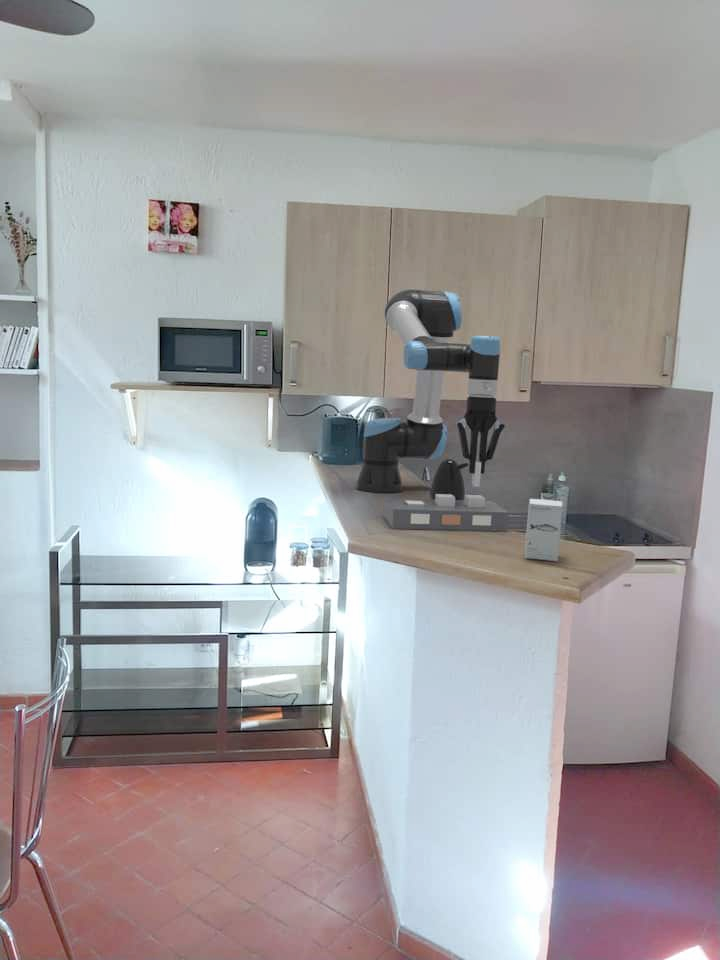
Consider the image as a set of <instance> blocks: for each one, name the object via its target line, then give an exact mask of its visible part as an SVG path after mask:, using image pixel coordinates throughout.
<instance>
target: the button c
mask: <svg viewBox="0 0 720 960" xmlns="http://www.w3.org/2000/svg"><path fill="white" fill-rule="evenodd" d="M485 501H486V498H485V497H484V496H483V495H479V494H478V495H475V494H466V495H465V499H464V505H465V506H466V507H470V508H485Z"/></svg>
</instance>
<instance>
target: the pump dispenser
mask: <svg viewBox="0 0 720 960" xmlns="http://www.w3.org/2000/svg"><path fill="white" fill-rule="evenodd" d="M468 467H469V462H465V463H460V464H459V463H458V461H456V460H455V459H453V458H446V459H444V460H442V461H441V462H440V464H439V466H438V468H436V472H435V474H434V477H433V479H432V483H431V487H430V492H429V499H435V494H451V495H453V496H454V497H455V500H464V499H465V495H467V494H466V493H467V492H466V484H465V483H466V482H465V478H464V475H463V471H462V469H465V468H468Z"/></svg>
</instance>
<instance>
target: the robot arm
mask: <svg viewBox="0 0 720 960" xmlns="http://www.w3.org/2000/svg"><path fill="white" fill-rule="evenodd" d="M462 313H463V311H462V303H461V300H460V298H459V296H458V295H457V293H454V292H451V291H450V292H449V291H444V290H425V289H405V290H401V291H399V292H398V293H395V294H394V295H393V296H391V298H389V300H388V301H387V302H386V305H385V308H384V318H385V321H386V323H387V325H388V326H389V328H390V329H392V330H394V331H395V332H396V333H397V334H396V335H398V337H399V339H400V341H401V342H402V344H403V346H404V348H403V357H402V359H403V365H404V367H405V368H406V369H408V370H415V371H416V378H415V385H414V386H415V388H414V396H413V406H412V412H411V413H410V414H408V415H407V417H406V418H407V419H406V422H402V420H401V418H399V417H383V418H375V419H370V420H368V421H366V423H365V426H364V432H363V456H362V459H363V460H362V466H361V469H360V472H359V474H358V477H357V479H356V489H357V490H360V491H363V492H370V493H381V494H382V493H386V494H387V493H388V494H389V493H399V492H402V491H403V480H402V477H401V472H400V469H399V460H400V459H401V458H402V459H423V460H429V459H437V458H439V457H440V456H441V455H442V454H443V452H444V450H445V448H446V444H447V440H448V435H447V434H448V429H447V426H446V424H444V422H443V418H442V417H441V415H440V407H441V401H442V400H441V399H442V390H443V381H444V374H445V373H444V372H456V373H458V372H459V373H467V374H468V382H467V384H468V385H467V394H468V395H469V396H468V397H466V409H465V411H466V412H465V414H464V415H463V419H461V420H460V421H459V420H458V421H456V422H455V426H456V428H457V430H458V434H459V435H458V436H459V440H460V446H461V450H462V451H461V452H462V456H463V458H464V459H466V460H468V461H469V463H468V467H469V469H468V472H469V474H472V476H471V486H473V487H476V488H477V487H479V488H480V487H481V476H482V475H481V474H483V475H484V474H485V471H486V470H485V469H486V468H485V467H486V462H488V461H489V460H490V461H491V460H492V459H493V458H494V454H495V451H496V448H497V445H498V443H499V438H500V436H501V433H502V431H503V430H504V429H505V427H506V425H505V424H503V423H502V422H500V421H498V417H497V416H496V411H497V408H496V407H497V398H496V397H495V396H497V395H498V379H499V366H500V356H501V355H500V354H501V350H502V349H501V339H500V337H498V336H493V335H474V336H472V337H471V340H470V343H454V342H453V343H452V342H449V341H450V340H452V338H453V337H454V332H456V331H459V330H460V329H461V326H462V320H463V314H462ZM466 425H467V426H466ZM466 427H468V428H469V430H470V447H469V444H468V439H467V432H466ZM492 428H493V429H494V430H493V432H492V435H491V438H490V441H489V444H488V436H489V431H490V430H491V429H492ZM479 434H480V435H479ZM479 436H480V438H479V439H480V440H479V439H478V437H479ZM478 440H479V454H478V460H477V453H478Z"/></svg>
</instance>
